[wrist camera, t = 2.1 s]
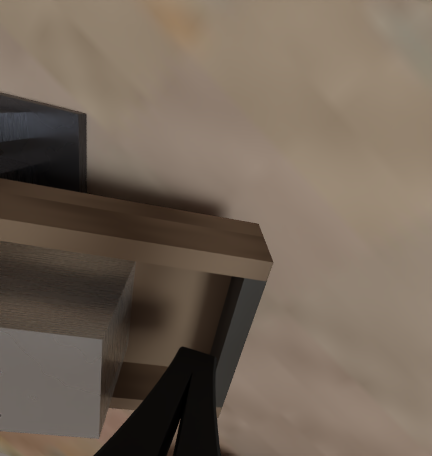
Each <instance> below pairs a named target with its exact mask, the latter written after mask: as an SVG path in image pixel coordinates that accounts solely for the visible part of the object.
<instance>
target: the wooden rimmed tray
mask: <svg viewBox="0 0 432 456" xmlns="http://www.w3.org/2000/svg"><path fill="white" fill-rule="evenodd" d="M0 241H5V242H11V243H18V244H24V245H31V246H38V247H44V248H51V249H57V250H64V251H70V252H77V253H84V254H90V255H97V256H103V257H110V258H116V259H123V260H130V261H136V263H135V274H134V285H133V296H132V307H131V318H130V329H129V340H128V347H127V350H126V353H125V357H124V360H123V363H122V366H121V369H120V373H119V376H118V379H117V382H116V386H115V389H114V392H113V395H112V398H111V402H110V405H109V408H117V409H128V410H136V409H137V407H138V406H139V405H140V404H141V403H142V402H143V400H144V399H145V398H146V396H147V395H148V394H149V393H150V391H151V390H152V389H153V387H154V386H155V385H156V383H157V382H158V381H159V380H160V378H161V377H162V375H163V374H164V372H165V371H166V370H167V368H168V367H169V365H170V364H171V362H172V360H173V359H174V357H175V355H176V354H177V352H178V350H179V348H180V347H187V348H190V349H193V350H196V351H199V352H203V353H206V354H209V355H212V356H215V357H216V359H217V364H216V383H215V387H216V412H217V418H218V417H219V415H220V412H221V409H222V406H223V403H224V400H225V398H226V395H227V392H228V389H229V386H230V384H231V381H232V378H233V375H234V372H235V369H236V367H237V364H238V361H239V358H240V355H241V352H242V350H243V347H244V344H245V341H246V338H247V336H248V333H249V330H250V327H251V324H252V321H253V319H254V316H255V313H256V310H257V307H258V304H259V302H260V299H261V296H262V293H263V290H264V288H265V285H266V282H267V279H268V276H269V273H270V271H271V268H272V265H273V260H272V258H271V255H270V252H269V250H268V247H267V245H266V242H265V239H264V237H263V234H262V232H261V229H260V226H259V224H256V223H251V222H245V221H239V220H234V219H228V218H222V217H217V216H211V215H205V214H200V213H194V212H188V211H183V210H177V209H171V208H166V207H160V206H154V205H149V204H143V203H137V202H132V201H126V200H120V199H115V198H109V197H103V196H98V195H92V194H87V193H81V192H75V191H70V190H64V189H58V188H53V187H47V186H41V185H36V184H30V183H24V182H19V181H13V180H7V179H2V178H0Z"/></svg>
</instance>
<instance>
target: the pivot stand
mask: <svg viewBox="0 0 432 456" xmlns="http://www.w3.org/2000/svg"><path fill="white" fill-rule="evenodd" d="M0 178H2V179H7V180H13V181H19V182H24V183H30V184H36V185H41V186H47V187H53V188H58V189H64V190H70V191H75V192H81V193H87V181H86V114H85V113H81V112H77V111H73V110H69V109H65V108H61V107H57V106H53V105H49V104H45V103H40V102H36V101H32V100H28V99H24V98H20V97H16V96H12V95H8V94H4V93H0Z"/></svg>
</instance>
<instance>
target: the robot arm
mask: <svg viewBox="0 0 432 456" xmlns="http://www.w3.org/2000/svg"><path fill="white" fill-rule="evenodd" d="M216 364H217V359H216V357H215V356H212V355H209V354H206V353H203V352H199V351H196V350H193V349H190V348H187V347H180V348H179V350H178V352H177V354H176V355H175V357H174V359H173V360H172V362H171V364H170V365H169V367H168V368H167V370H166V371H165V372H164V374H163V375H162V377H161V378H160V380H159V381H158V382H157V383H156V385H155V386H154V387H153V389H152V390H151V391H150V393H149V394H148V395H147V396H146V398H145V399H144V400H143V402H142V403H141V404H140V405H139V406H138V407H137V409H136V410H135V411H134V412H133V413H132V414H131V416H130V417H129V418H128V419H127V420H126V421H125V423H124V424H123V425H122V426H121V427H120V428H119V429H118V430H117V432H116V433H115V434H114V435H113V436H112V437H111V438H110V439H109V440H108V441H107V442H106V443H105V444H104V445H103V446H102V447H101V449H100V450H99V451H98V452H97V453H96V454H95V455H94V456H167V453H168V451H169V448H170V445H171V443H172V440H173V437H174V435H175V432H176V429H177V427H178V424H179V421H180V424H179V429H178V434H177V439H176V443H175V448H174V453H173V456H221V453H220V445H219V436H218V425H217V412H216V387H215V383H216ZM180 419H181V420H180Z"/></svg>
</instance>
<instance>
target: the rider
mask: <svg viewBox="0 0 432 456" xmlns="http://www.w3.org/2000/svg"><path fill="white" fill-rule="evenodd" d="M135 263H136V261H130V260H123V259H116V258H110V257H103V256H97V255H90V254H84V253H77V252H70V251H64V250H57V249H51V248H44V247H38V246H31V245H24V244H18V243H11V242H5V241H0V431H7V432H20V433H33V434H45V435H58V436H71V437H84V438H97V439H99V437H100V434H101V431H102V427H103V424H104V421H105V418H106V414H107V411H108V408H109V405H110V402H111V398H112V395H113V392H114V389H115V386H116V382H117V379H118V376H119V373H120V369H121V366H122V363H123V360H124V357H125V353H126V350H127V347H128V340H129V329H130V318H131V307H132V296H133V285H134V274H135Z"/></svg>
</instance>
